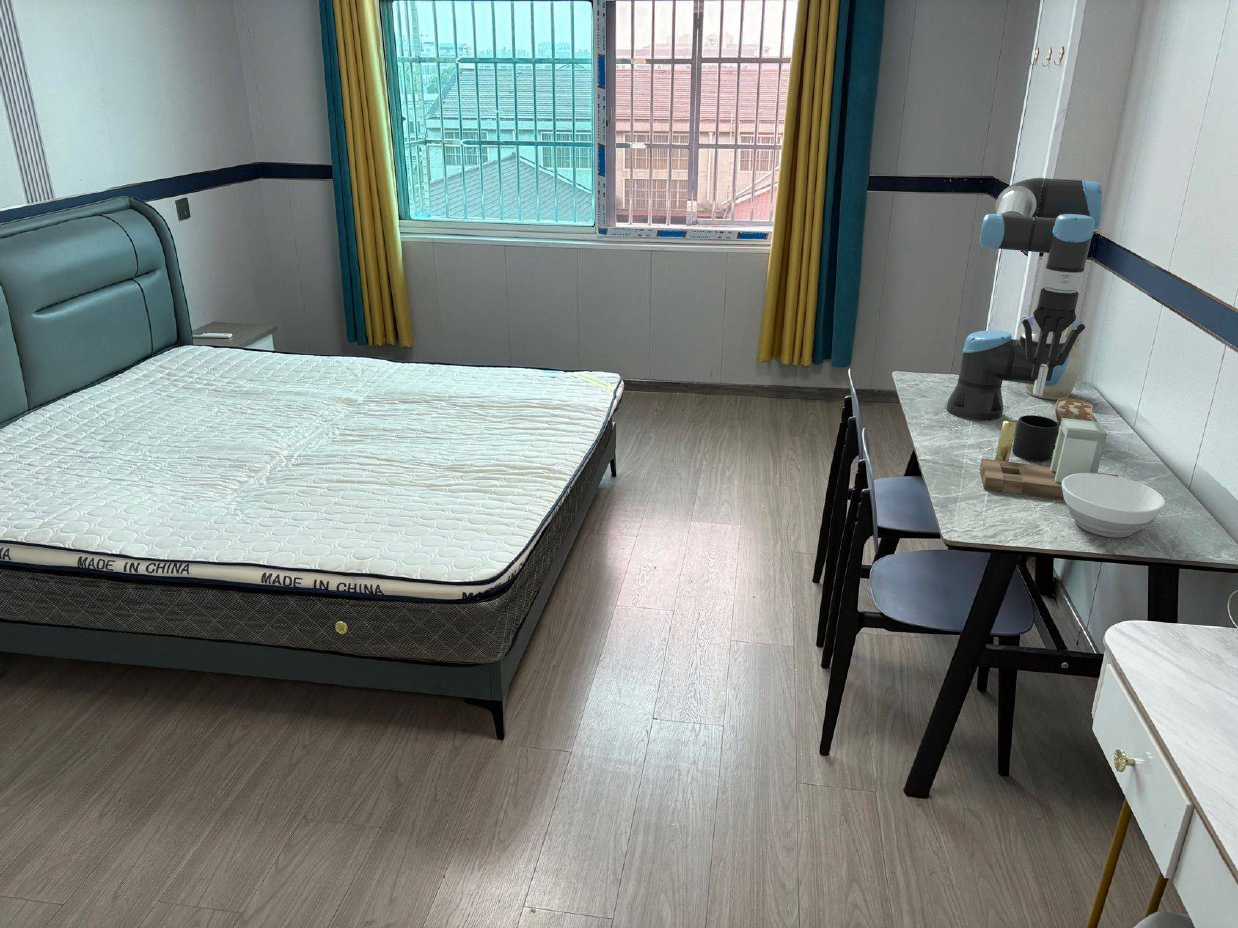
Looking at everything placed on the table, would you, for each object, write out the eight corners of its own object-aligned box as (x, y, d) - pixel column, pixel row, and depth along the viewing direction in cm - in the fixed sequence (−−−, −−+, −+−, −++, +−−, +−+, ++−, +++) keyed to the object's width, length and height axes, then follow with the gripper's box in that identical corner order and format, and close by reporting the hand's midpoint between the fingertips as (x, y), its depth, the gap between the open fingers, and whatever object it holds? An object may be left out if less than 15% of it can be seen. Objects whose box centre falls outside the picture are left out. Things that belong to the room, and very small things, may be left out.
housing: (1050, 468, 212) (1062, 417, 207) (1087, 473, 210) (1099, 422, 205) (1055, 481, 204) (1067, 429, 199) (1093, 486, 202) (1107, 434, 198)
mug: (1063, 466, 222) (1071, 432, 218) (1011, 457, 226) (1018, 424, 223) (1062, 453, 230) (1070, 420, 226) (1012, 445, 234) (1019, 412, 231)
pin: (993, 464, 221) (1002, 419, 217) (1006, 466, 221) (1015, 420, 216) (994, 469, 219) (1003, 423, 214) (1007, 471, 218) (1017, 424, 213)
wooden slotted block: (979, 469, 218) (988, 423, 214) (1114, 486, 211) (1127, 439, 206) (983, 489, 208) (993, 441, 203) (1126, 507, 200) (1139, 458, 196)
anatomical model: (1095, 444, 237) (1100, 427, 235) (1054, 439, 240) (1058, 421, 238) (1087, 417, 256) (1091, 401, 254) (1049, 412, 260) (1053, 396, 258)
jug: (1058, 386, 283) (1076, 307, 273) (1084, 402, 269) (1104, 320, 259) (1011, 385, 282) (1027, 307, 272) (1034, 402, 268) (1052, 319, 258)
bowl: (1082, 548, 182) (1092, 511, 179) (1036, 506, 200) (1044, 472, 197) (1175, 548, 183) (1186, 511, 180) (1121, 506, 201) (1130, 472, 198)
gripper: (1029, 290, 191) (1008, 395, 201) (1097, 295, 188) (1072, 402, 197) (1025, 283, 198) (1004, 385, 207) (1090, 288, 195) (1066, 391, 204)
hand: (1037, 393), depth 202 cm, fingers closed
